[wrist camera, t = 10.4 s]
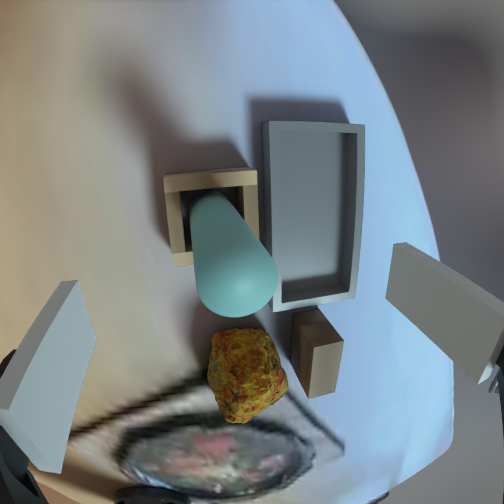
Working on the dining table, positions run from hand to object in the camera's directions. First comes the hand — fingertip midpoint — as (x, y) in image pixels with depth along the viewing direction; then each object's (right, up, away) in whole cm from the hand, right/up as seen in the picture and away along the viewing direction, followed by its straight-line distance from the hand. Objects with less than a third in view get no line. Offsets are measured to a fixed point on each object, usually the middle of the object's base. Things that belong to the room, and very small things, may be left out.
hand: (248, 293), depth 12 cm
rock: (-1, -10, +21) cm, 24 cm away
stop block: (+6, -8, +21) cm, 24 cm away
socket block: (-3, +5, +14) cm, 16 cm away
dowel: (-3, +5, +14) cm, 16 cm away
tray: (+5, +5, +16) cm, 18 cm away
